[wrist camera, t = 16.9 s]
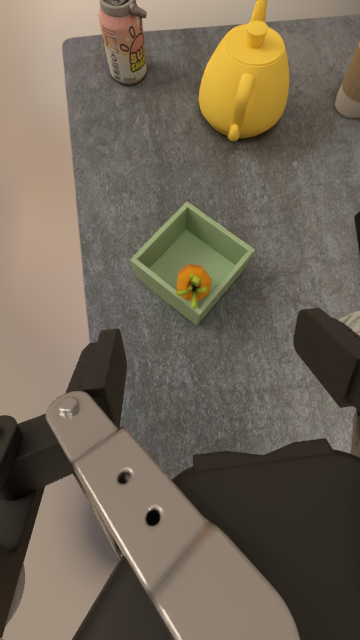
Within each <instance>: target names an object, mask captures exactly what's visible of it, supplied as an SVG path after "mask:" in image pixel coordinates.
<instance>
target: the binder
mask: <svg viewBox="0 0 360 640" xmlns="http://www.w3.org/2000/svg"><path fill="white" fill-rule="evenodd" d="M355 220H356V228H357V235H358V242H359V249H360V212H359V213H358V214H357V215H356V216H355Z"/></svg>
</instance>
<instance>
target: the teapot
mask: <svg viewBox="0 0 360 640" xmlns="http://www.w3.org/2000/svg"><path fill="white" fill-rule="evenodd" d="M266 7H267V0H257V1H256V5H255V8H254V12H253V15H252V17H251V20H250V23H248V24H244V25H240V26H237V27H235V28H233V29H232V30H231V31H229V32H228V33H227V35H226V36H225V37H224V38H223V40H222V41H221V42H220V44H219V45H218V47H217V49H216V50H215V52H214V53H213V55H212V57H211V59H210V60H209V62H208V64H207V67H206V69H205V72H204V74H203V78H202V81H201V85H200V91H199V105H200V109H201V111H202V114H203V115H204V117H205V118H206V120H207V121H208V122H209V124H210V125H211V126H212V127H213V128H214V129H215V130H217V131H218V132H220V133H222V134H224V135H226V136H228V139H229V140H230V141H232V142H233V141H237V140H238V138H249V137H254V136H257V135H259V134H261V133H263V132H265V131H266V130H268V129H270V128H271V127H272V126H274V125H275V124H276V123H277V121H278V120H279V119H280V117H281V116H282V114H283V112H284V109H285V106H286V102H287V97H288V91H289V67H288V60H287V54H286V49H285V45H284V42H283V40H282V38H281V37H280V35H279V34H278V33H277V32H276V31H274V30H273V29H271V28H269V27H268V25H267V24H266V23H265V16H266Z"/></svg>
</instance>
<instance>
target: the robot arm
mask: <svg viewBox="0 0 360 640" xmlns="http://www.w3.org/2000/svg"><path fill="white" fill-rule="evenodd" d="M294 348H295V350H296V352H297V353H298V355H299V356H300V357H301V359H302V360H303V361H304V362H305V364H306V365H307V366H308V367H309V369H310V370H311V371H312V373H313V374H314V375H315V376H316V378H317V379H318V380H319V381H320V383H321V384H322V385H323V386H324V388H325V389H326V390H327V392H328V393H329V394H330V395H331V397H332V398H333V399H334V400H335V402H336V403H337V404H338V406H339V407H340V408H341V407H349V406H354V407H355V408H356V411H355V414H354V422H353V435H352V448H351V454H349V453H346V452H342V451H338V450H333V449H332V448H331V446H330V444H329V443H328V441H327V440H326V438H325V439H317V440H309V441H301V442H294V443H291V444H289V445H287V446H284V447H282V448H280V449H277V450H275V451H273V452H270V453H268V454H265V455H255V454H246V453H238V452H229V451H223V452H215V453H207V454H200V455H193V464H194V466H193V467H191V468H189V469H187V470H185V471H183V472H181V473H180V474H178V475H177V476H176V477H175V478H173V479H172V480H171V479H170V478H169V477H168V476H167V475H166V474H165V473H164V471H163V470H162V469H161V468H160V467H159V466H158V465H157V463H156V462H155V461H154V460H153V459H152V458H151V457H150V455H149V454H148V453H147V452H146V451H145V450H144V449H143V448H142V446H141V445H140V444H139V443H138V442H137V441H136V440H135V438H134V437H133V436H132V435H131V434H130V433H129V432H128V431H127V430H126V429H125V428H124V427H121V428H119V425H120V418H121V410H122V403H123V395H124V387H125V380H126V372H127V362H126V355H125V351H124V346H123V342H122V337H121V333H120V330H119V329H110V330H102V331H101V332H100V335H99V338H98V341H97V342H95V343H89V345H88V346H87V347H86V348H85V349H84V350H83V351H82V353H81V355H80V358H79V361H78V363H77V365H76V368H75V370H74V373H73V375H72V378H71V381H70V383H69V386H68V388H67V391H66V393H65V394H64V395H61V396H60V397H58V398H57V399H55V400H54V401H53V402H52V403H51V404H50V405H49V407H48V409H47V411H46V413H45V414H43V415H41V416H39V417H36V418H33V419H30V420H28V421H25V422H22V423H19V424H17V422H16V420H15V419H14V418H13V417H11V416H6V415H4V416H0V640H3V639H2V636H3V632H4V629H5V625H6V622H7V618H8V615H9V611H10V608H11V604H12V601H13V597H14V594H15V590H16V587H17V583H18V580H19V576H20V573H21V569H22V566H23V562H24V558H25V555H26V551H27V548H28V544H29V541H30V537H31V534H32V530H33V527H34V523H35V519H36V516H37V513H38V509H39V506H40V502H41V498H42V495H43V492H44V488H45V486H46V485H48V484H50V483H53V482H55V481H57V480H59V479H62V478H63V477H66V476H68V475H70V474H73V475H74V477H75V478H76V480H77V482H78V484H79V486H80V488H81V489H82V491H83V493H84V495H85V497H86V498H87V500H88V502H89V504H90V506H91V507H92V509H93V511H94V513H95V515H96V516H97V518H98V520H99V522H100V524H101V526H102V528H103V530H104V531H105V533H106V536H107V537H108V539H109V541H110V543H111V545H112V547H113V548H114V550H115V552H116V554H117V556H118V557H119V559H120V560H119V562H118V564H117V566H116V567H115V569H114V570H113V572H112V574H111V575H110V577H109V579H108V580H107V582H106V584H105V585H104V587H103V589H102V590H101V592H100V594H99V595H98V597H97V599H96V600H95V602H94V604H93V605H92V607H91V609H90V610H89V612H88V614H87V616H86V617H85V619H84V620H83V622H82V624H81V625H80V627H79V629H78V630H77V632H76V634H75V636H74V637H73V639H72V640H360V336H359V335H358V334H357V333H356V332H355V331H353V330H352V329H351V328H350V327H348V326H347V325H346V324H345V323H343V322H341V321H338V320H336V319H334V318H331V317H330V316H329V315H327V314H326V313H325V312H324V311H322V310H321V309H320V308H314V309H304V310H300V311H299V313H298V317H297V323H296V328H295V334H294Z"/></svg>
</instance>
